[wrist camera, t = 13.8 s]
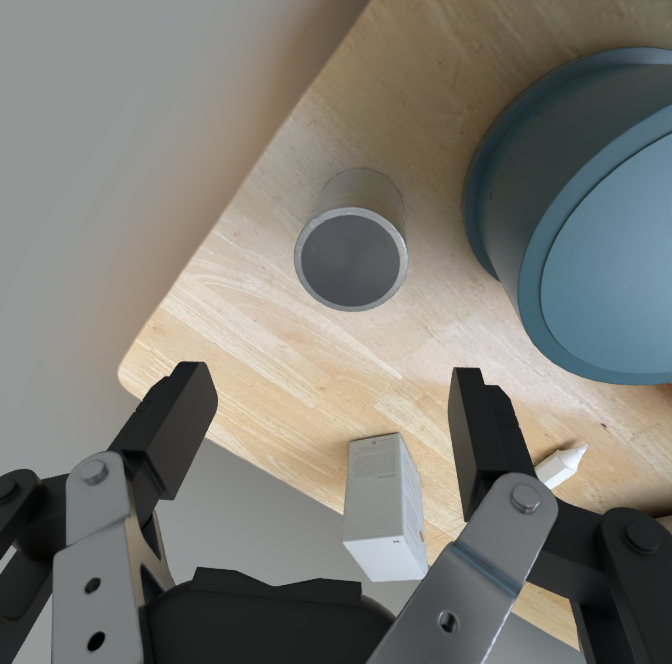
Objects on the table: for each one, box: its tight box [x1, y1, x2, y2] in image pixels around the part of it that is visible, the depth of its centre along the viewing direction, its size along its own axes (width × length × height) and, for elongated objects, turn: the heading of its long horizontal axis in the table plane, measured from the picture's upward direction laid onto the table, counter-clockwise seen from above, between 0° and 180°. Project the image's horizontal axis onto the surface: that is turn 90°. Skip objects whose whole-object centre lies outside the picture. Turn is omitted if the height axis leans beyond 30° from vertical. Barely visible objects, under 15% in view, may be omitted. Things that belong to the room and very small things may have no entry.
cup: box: [294, 168, 408, 312], centre depth 23 cm, size 6×6×8 cm
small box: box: [341, 433, 428, 582], centre depth 38 cm, size 8×6×10 cm
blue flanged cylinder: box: [462, 47, 672, 385], centre depth 20 cm, size 14×14×11 cm
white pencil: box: [534, 444, 589, 490], centre depth 40 cm, size 3×2×16 cm
